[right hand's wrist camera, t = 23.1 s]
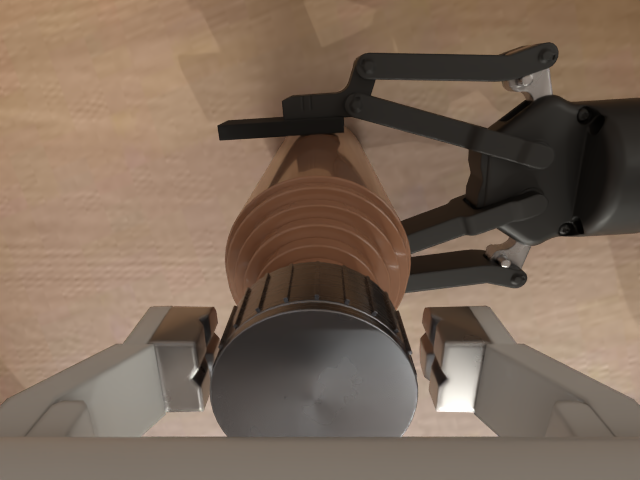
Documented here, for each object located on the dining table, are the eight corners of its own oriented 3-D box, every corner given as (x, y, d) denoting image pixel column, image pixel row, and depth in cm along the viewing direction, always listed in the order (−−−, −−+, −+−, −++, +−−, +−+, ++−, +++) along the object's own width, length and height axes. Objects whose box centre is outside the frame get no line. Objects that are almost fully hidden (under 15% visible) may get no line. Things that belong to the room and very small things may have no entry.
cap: (436, 348, 10) (462, 412, 8) (304, 429, 11) (300, 503, 9) (329, 222, 9) (331, 263, 7) (193, 326, 10) (161, 387, 8)
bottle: (309, 100, 28) (268, 176, 7) (381, 152, 30) (525, 347, 8) (262, 173, 30) (118, 404, 9) (331, 219, 32) (346, 515, 10)
